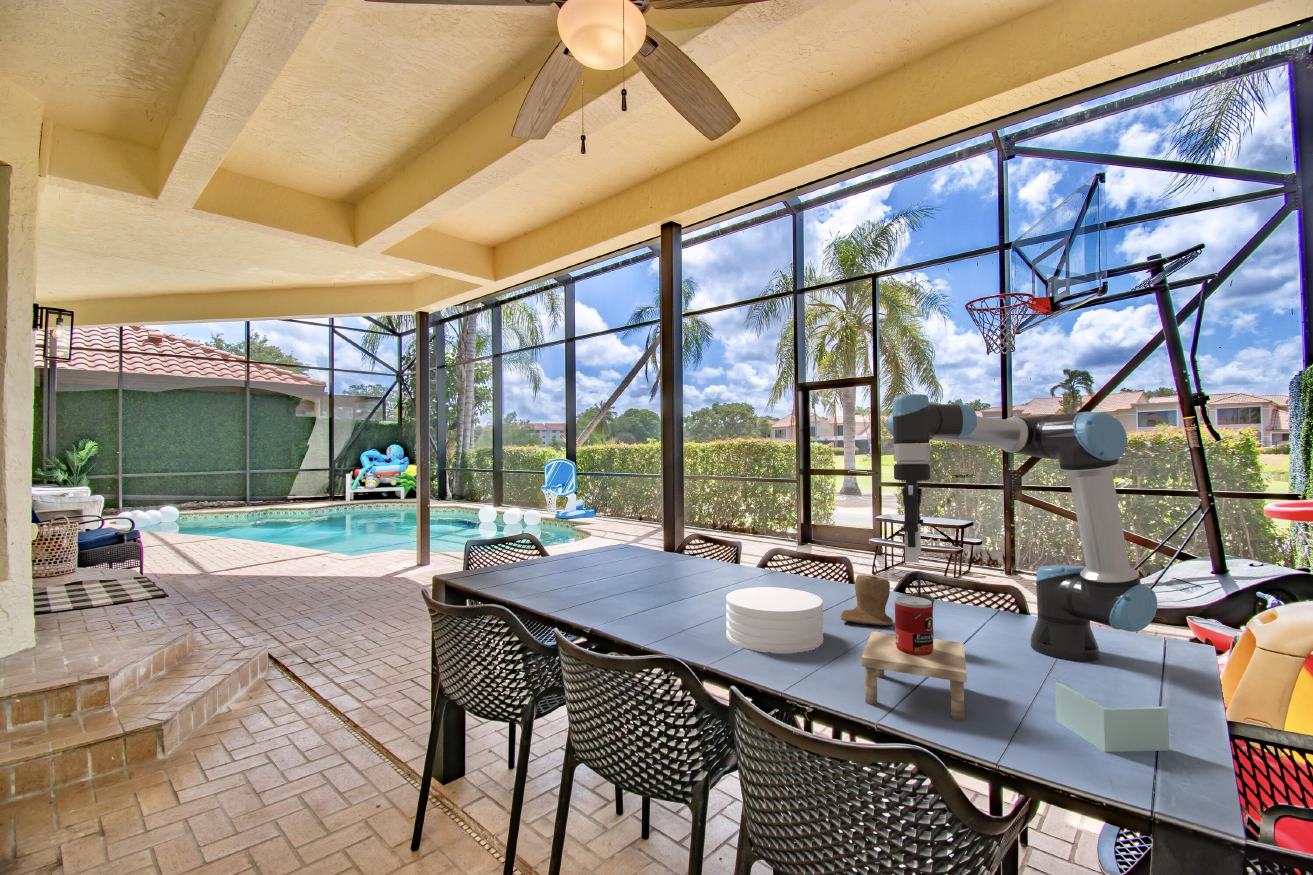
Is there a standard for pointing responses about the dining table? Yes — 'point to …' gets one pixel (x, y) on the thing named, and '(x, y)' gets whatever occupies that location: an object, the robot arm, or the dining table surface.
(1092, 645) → the robot arm
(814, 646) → the plate stack
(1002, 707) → the dining table surface
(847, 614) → the brown suede boots
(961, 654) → the footstool
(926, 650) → the canned food
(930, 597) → the drinking cup
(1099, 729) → the right angle wall
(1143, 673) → the dining table surface
